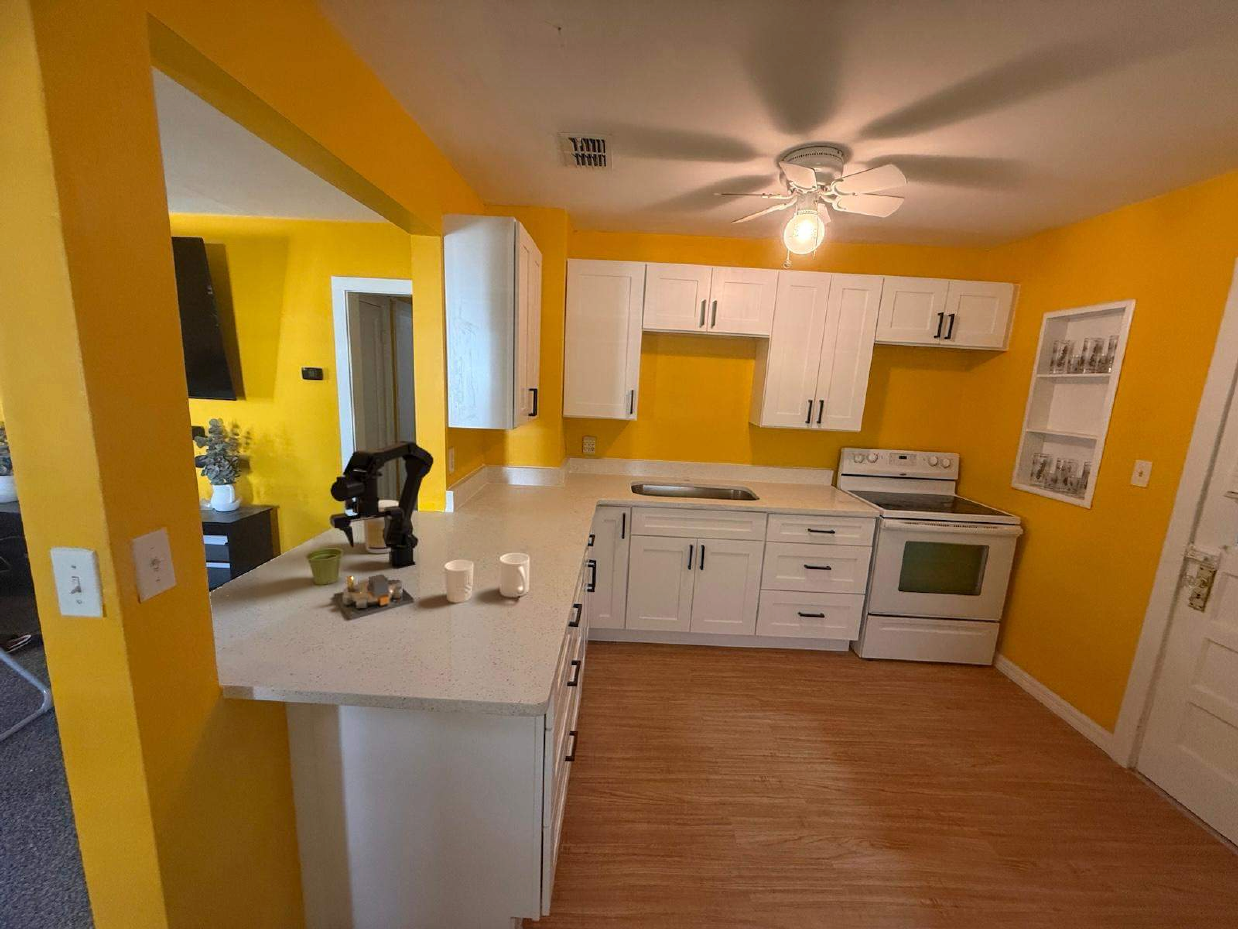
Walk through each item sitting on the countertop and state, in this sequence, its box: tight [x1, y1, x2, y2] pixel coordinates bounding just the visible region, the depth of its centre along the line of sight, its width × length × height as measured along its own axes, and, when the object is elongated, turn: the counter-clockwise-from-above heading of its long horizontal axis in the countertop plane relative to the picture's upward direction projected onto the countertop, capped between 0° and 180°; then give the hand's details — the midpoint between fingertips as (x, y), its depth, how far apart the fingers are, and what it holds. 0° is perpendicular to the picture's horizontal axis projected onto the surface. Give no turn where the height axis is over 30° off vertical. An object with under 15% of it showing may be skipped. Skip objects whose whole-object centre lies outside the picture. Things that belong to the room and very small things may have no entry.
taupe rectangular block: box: [368, 573, 389, 597], centre depth 125 cm, size 4×5×4 cm
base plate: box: [333, 579, 415, 621], centre depth 129 cm, size 16×16×1 cm
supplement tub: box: [363, 499, 399, 554], centre depth 165 cm, size 12×12×17 cm
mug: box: [499, 552, 531, 598], centre depth 136 cm, size 9×12×11 cm
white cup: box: [444, 559, 475, 604], centre depth 132 cm, size 8×8×10 cm
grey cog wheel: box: [342, 575, 404, 608], centre depth 128 cm, size 15×15×6 cm
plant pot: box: [305, 547, 344, 586], centre depth 138 cm, size 9×9×9 cm
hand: (369, 543), depth 138 cm, fingers open, 9 cm apart
